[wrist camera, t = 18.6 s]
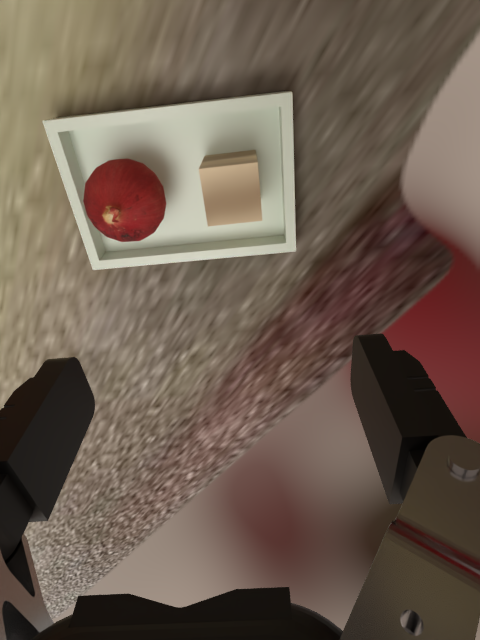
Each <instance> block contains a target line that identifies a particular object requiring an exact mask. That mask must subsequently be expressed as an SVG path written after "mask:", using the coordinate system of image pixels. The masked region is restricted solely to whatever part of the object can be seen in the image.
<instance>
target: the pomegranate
mask: <svg viewBox="0 0 480 640" xmlns="http://www.w3.org/2000/svg"><path fill="white" fill-rule="evenodd" d="M83 202H84V206H85V210H86V213H87V216H88V218H89V219H90V221H91V222H92V224H93V225H94V227H95V228H96V229H97V230H99V231H100V232H101V233H102V234H104V235H105V236H106V237H108V238H111V239H114V240H117V241H120V242H132V241H141V240H143V239H144V238H146V237H148V236H150V235H151V234H153V233H154V232H155V231H156V230H157V228H158V227H159V225H160V223H161V222H162V220H163V219H164V215H165V209H166V198H165V193H164V188H163V185H162V184H161V182H160V180H159V179H158V177H157V175H156V174H155V173H154V172H153V171H152V170H151V169H149V168H148V167H147V166H146V165H145V164H143V163H141V162H138V161H135V160H131V159H128V158H127V159H115V160H109V161H107V162H105V163H103V164H102V165H100V166H98V167H96V168H95V170H94V171H93V172H92V174H91V175H90V177H89V178H88V180H87V181H86V183H85V190H84V199H83Z"/></svg>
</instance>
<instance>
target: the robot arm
mask: <svg viewBox="0 0 480 640" xmlns="http://www.w3.org/2000/svg"><path fill="white" fill-rule="evenodd" d="M351 390H352V395H353V399H354V402H355V405H356V408H357V411H358V414H359V417H360V420H361V423H362V425H363V428H364V431H365V434H366V437H367V440H368V443H369V446H370V449H371V452H372V455H373V458H374V460H375V463H376V466H377V469H378V472H379V475H380V478H381V481H382V484H383V487H384V490H385V492H386V495H387V498H388V501H389V504H397V503H398V504H400V503H403V504H402V506H401V509H400V511H399V513H398V516H397V518H396V520H395V521H392V522H391V524H390V526H389V527H388V530H387V532H386V534H385V536H384V538H383V541H382V543H381V545H380V548H379V550H378V552H377V555H376V557H375V559H374V561H373V564H372V566H371V569H370V570H369V573H368V575H367V577H366V580H365V582H364V584H363V587H362V589H361V591H360V593H359V596H358V598H357V600H356V603H355V605H354V607H353V610H352V612H351V614H350V617H349V619H348V621H347V623H346V626H345V628H344V630H343V631H342V630H341V629H340V628H338V627H337V626H336V625H335V624H333V623H332V622H331V621H329V620H328V619H326V618H325V617H323V616H321V615H320V614H318V613H317V612H314V611H312V610H310V609H308V608H305V607H303V606H300V605H296V604H293V603H291V602H290V591H289V587H278V588H256V589H255V588H254V589H236V590H233V591H230V592H227V593H224V594H221V595H218V596H215V597H213V598H209V599H207V600H204V601H201V602H198V603H195V604H192V605H189V606H187V607H182V608H177V607H173V606H169V605H165V604H162V603H159V602H156V601H152V600H149V599H145V598H142V597H138V596H135V595H131V594H111V595H89V596H78V599H77V602H76V605H75V608H74V612H73V615H70V616H68V617H66V618H64V619H62V620H60V621H57V622H56V623H53V621H52V619H51V617H50V615H49V613H48V611H47V609H46V606H45V604H44V601H43V597H42V593H41V590H40V586H39V582H38V578H37V574H36V571H35V567H34V563H33V559H32V555H31V552H30V548H29V544H28V540H27V538H26V536H25V535H24V531H25V529H26V527H27V524H28V522H36V521H48V519H49V517H50V514H51V512H52V510H53V507H54V505H55V503H56V501H57V498H58V496H59V494H60V491H61V489H62V487H63V484H64V482H65V480H66V477H67V475H68V473H69V471H70V468H71V466H72V464H73V461H74V459H75V457H76V454H77V452H78V450H79V448H80V445H81V443H82V441H83V438H84V436H85V434H86V431H87V429H88V427H89V424H90V422H91V420H92V418H93V415H94V410H95V400H94V396H93V393H92V391H91V388H90V386H89V383H88V381H87V379H86V376H85V374H84V372H83V369H82V367H81V364H80V362H79V361H78V359H77V358H75V357H70V358H57V359H48V360H46V361H45V362H44V363H43V365H42V366H41V368H40V369H39V371H38V372H37V374H36V375H35V377H34V378H29V379H28V380H27V381H26V382H25V383H23V384H22V385H21V386H20V387H19V388H17V389H16V390H15V391H14V392H13V394H12V395H11V396H10V398H9V399H8V401H7V402H6V403H5V405H4V408H2V409H1V410H0V640H475V637H476V632H477V627H478V623H479V618H480V444H479V443H477V442H476V441H473V440H471V439H468V438H467V437H466V436H465V434H464V433H463V431H462V429H461V428H460V426H459V425H458V423H457V421H456V420H455V418H454V416H453V415H452V413H451V412H450V410H449V408H448V407H447V405H446V404H445V402H444V400H443V399H442V397H441V395H440V394H439V392H438V391H436V387H435V386H434V384H433V382H432V381H431V379H429V378H428V374H427V373H426V371H425V370H424V368H423V366H422V365H421V363H420V362H419V361H418V360H417V359H415V358H414V357H413V356H411V355H410V354H409V353H407V352H406V351H405V350H402V351H401V350H400V351H393V350H392V348H391V346H390V345H389V343H388V341H387V339H386V337H385V336H384V335H383V334H371V335H358V336H355V337H354V340H353V351H352V364H351Z"/></svg>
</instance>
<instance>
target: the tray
mask: <svg viewBox="0 0 480 640" xmlns="http://www.w3.org/2000/svg"><path fill="white" fill-rule="evenodd" d="M43 124H44V127H45V130H46V133H47V136H48V139H49V142H50V145H51V148H52V151H53V154H54V157H55V160H56V163H57V166H58V168H59V171H60V174H61V177H62V180H63V183H64V186H65V189H66V192H67V195H68V198H69V201H70V204H71V207H72V210H73V213H74V216H75V219H76V221H77V224H78V227H79V230H80V233H81V236H82V239H83V242H84V245H85V248H86V251H87V254H88V257H89V260H90V263H91V266H92V269H93V270H99V269H110V268H120V267H131V266H142V265H153V264H164V263H175V262H185V261H196V260H207V259H218V258H229V257H240V256H250V255H261V254H272V253H283V252H294V251H296V228H295V185H294V141H293V97H292V92H291V91H281V92H272V93H264V94H255V95H247V96H238V97H229V98H221V99H212V100H204V101H195V102H187V103H178V104H169V105H161V106H152V107H144V108H135V109H127V110H118V111H109V112H101V113H92V114H84V115H75V116H67V117H58V118H53V119H49V120H45V121H43ZM249 150H256V155H257V160H258V170H259V183H260V196H261V209H262V221H255V222H246V223H236V224H227V225H217V226H208V225H207V218H206V212H205V206H204V200H203V193H202V187H201V181H200V174H199V167H200V165H201V163H202V161H203V158H204V156H206V155H214V154H223V153H231V152H240V151H249ZM127 158H128V159H131V160H135V161H138V162H141V163H143V164H145V165H146V166H147V167H148V168H149V169H151V170H152V171H153V172H154V173H155V174H156V175H157V177H158V179H159V180H160V182H161V184H162V185H163V188H164V193H165V198H166V209H165V215H164V219H163V220H162V222H161V223H160V225H159V227H158V228H157V230H156V231H155V232H154V233H153V234H151V235H150V236H148V237H146V238H144V239H143V240H141V241H132V242H120V241H117V240H114V239H111V238H108V237H106V236H105V235H104V234H102V233H101V232H100V231H99V230H97V229H96V228H95V227H94V225H93V224H92V222H91V221H90V219H89V218H88V216H87V213H86V210H85V206H84V202H83V199H84V190H85V183H86V181H87V180H88V178H89V177H90V175H91V174H92V172H93V171H94V170H95V168H96V167H98V166H100V165H102V164H103V163H105V162H107V161H109V160H115V159H127Z"/></svg>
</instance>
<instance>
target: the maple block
mask: <svg viewBox="0 0 480 640" xmlns="http://www.w3.org/2000/svg"><path fill="white" fill-rule="evenodd" d="M199 174H200V181H201V187H202V193H203V200H204V206H205V212H206V218H207V225H208V226H217V225H227V224H236V223H246V222H255V221H262V209H261V196H260V183H259V170H258V160H257V155H256V150H249V151H240V152H231V153H223V154H214V155H206V156H204V158H203V161H202V163H201V165H200V167H199Z"/></svg>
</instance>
